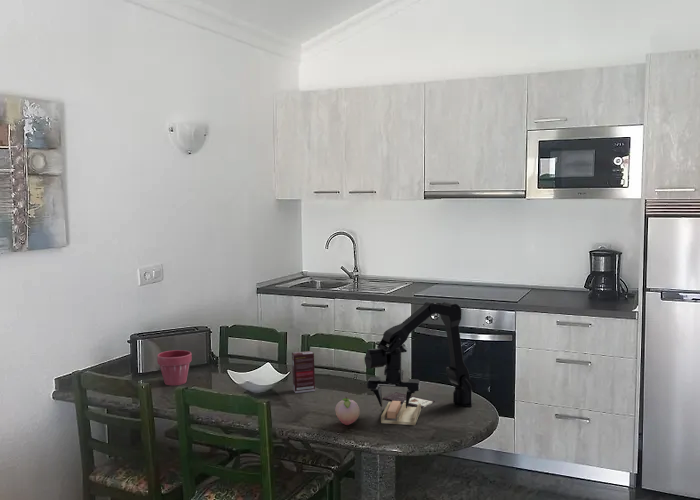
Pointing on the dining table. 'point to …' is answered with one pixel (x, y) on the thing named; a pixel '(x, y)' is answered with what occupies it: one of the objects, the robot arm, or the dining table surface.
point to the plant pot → (174, 366)
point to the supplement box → (303, 371)
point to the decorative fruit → (347, 411)
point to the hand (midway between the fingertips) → (394, 407)
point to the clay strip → (394, 409)
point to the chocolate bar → (412, 401)
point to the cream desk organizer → (402, 415)
